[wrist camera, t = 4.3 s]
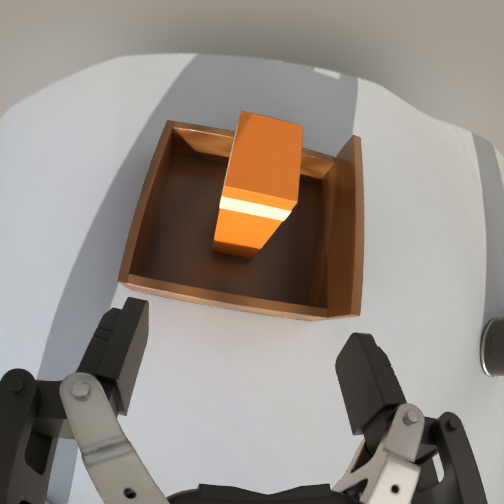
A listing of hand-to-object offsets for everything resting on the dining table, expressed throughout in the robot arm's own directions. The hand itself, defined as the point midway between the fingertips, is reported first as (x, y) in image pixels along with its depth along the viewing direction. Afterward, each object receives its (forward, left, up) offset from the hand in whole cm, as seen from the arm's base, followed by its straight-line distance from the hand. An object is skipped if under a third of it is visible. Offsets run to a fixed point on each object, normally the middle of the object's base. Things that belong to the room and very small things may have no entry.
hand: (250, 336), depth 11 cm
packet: (0, -10, -16) cm, 19 cm away
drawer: (0, -10, -16) cm, 19 cm away
